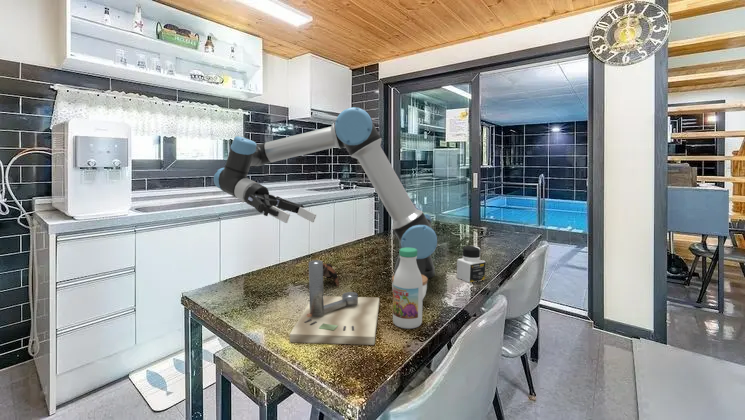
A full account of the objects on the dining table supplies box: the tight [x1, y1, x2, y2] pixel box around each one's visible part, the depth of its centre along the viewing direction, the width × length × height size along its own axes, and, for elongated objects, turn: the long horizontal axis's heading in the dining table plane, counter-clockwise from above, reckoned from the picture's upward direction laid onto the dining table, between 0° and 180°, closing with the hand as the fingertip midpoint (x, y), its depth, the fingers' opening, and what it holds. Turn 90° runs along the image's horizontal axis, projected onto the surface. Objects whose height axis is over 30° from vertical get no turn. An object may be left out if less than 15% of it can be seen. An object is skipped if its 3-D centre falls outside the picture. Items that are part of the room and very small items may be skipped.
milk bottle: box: [392, 247, 424, 330], centre depth 93 cm, size 8×8×20 cm
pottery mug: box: [323, 263, 340, 287], centre depth 124 cm, size 12×10×8 cm
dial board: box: [289, 295, 380, 346], centre depth 95 cm, size 20×24×2 cm
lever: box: [307, 259, 359, 317], centre depth 96 cm, size 16×4×14 cm, turn 131°
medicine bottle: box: [456, 245, 486, 284], centre depth 128 cm, size 7×7×12 cm
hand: (302, 218), depth 108 cm, fingers open, 13 cm apart
